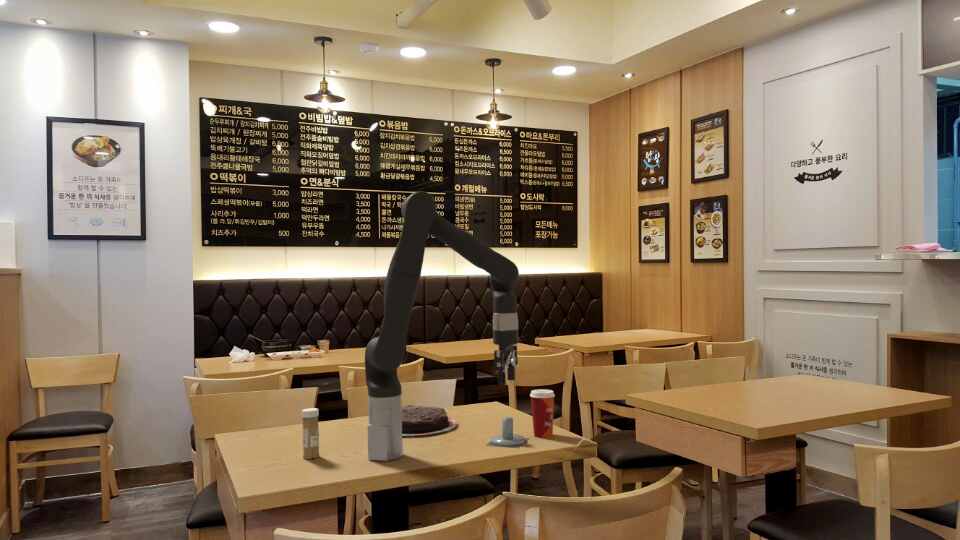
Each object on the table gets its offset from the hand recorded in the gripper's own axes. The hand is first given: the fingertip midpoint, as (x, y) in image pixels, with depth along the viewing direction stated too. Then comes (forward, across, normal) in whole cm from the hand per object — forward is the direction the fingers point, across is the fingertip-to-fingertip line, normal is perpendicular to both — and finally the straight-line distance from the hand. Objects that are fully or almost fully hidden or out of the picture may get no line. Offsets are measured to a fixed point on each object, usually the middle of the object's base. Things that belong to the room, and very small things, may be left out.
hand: (506, 382), depth 188 cm
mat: (+18, 0, 0) cm, 18 cm away
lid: (+18, 0, 0) cm, 18 cm away
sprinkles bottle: (+18, +30, -48) cm, 59 cm away
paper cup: (+18, -10, +8) cm, 22 cm away
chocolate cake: (+19, -10, -36) cm, 42 cm away
